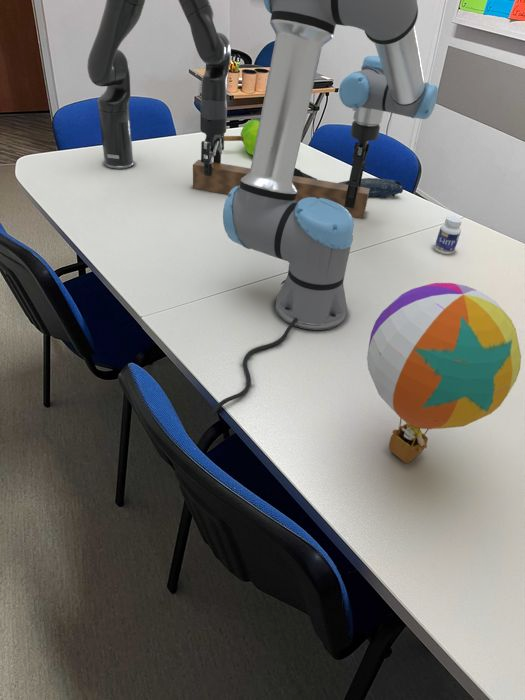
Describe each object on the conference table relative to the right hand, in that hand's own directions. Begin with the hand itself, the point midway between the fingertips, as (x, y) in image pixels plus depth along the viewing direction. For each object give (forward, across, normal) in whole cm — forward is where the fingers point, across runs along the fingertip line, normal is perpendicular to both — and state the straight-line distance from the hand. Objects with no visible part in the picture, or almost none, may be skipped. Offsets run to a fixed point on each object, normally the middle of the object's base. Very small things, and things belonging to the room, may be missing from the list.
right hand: (351, 198), depth 152 cm
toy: (+5, +90, +20) cm, 92 cm away
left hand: (-1, 0, -43) cm, 43 cm away
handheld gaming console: (+4, -19, -20) cm, 28 cm away
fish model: (+4, -18, +4) cm, 19 cm away
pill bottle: (+4, +14, +28) cm, 31 cm away
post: (+4, 0, -22) cm, 23 cm away
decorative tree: (+4, -38, -42) cm, 56 cm away
